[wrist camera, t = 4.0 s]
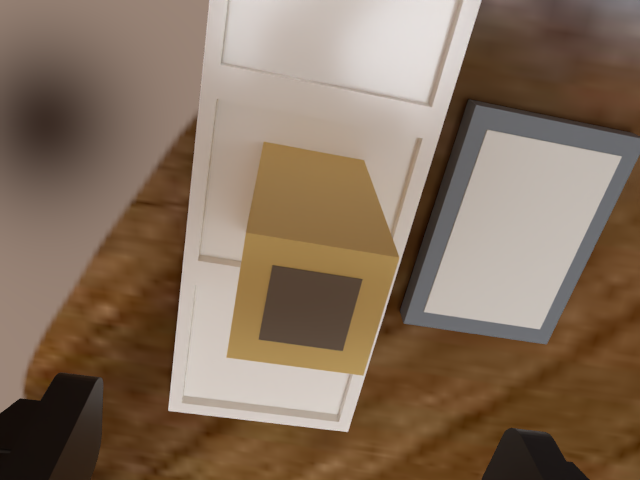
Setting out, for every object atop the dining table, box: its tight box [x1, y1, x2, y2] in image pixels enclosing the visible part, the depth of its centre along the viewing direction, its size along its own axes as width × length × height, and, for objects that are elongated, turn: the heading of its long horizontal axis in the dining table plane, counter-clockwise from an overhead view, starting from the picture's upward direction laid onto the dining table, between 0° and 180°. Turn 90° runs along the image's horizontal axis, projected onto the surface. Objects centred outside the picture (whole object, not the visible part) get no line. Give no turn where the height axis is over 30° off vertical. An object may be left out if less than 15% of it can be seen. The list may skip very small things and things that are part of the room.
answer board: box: [400, 99, 640, 344], centre depth 22 cm, size 10×7×1 cm
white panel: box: [168, 271, 388, 432], centre depth 25 cm, size 8×9×1 cm
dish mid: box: [182, 79, 442, 302], centre depth 21 cm, size 8×9×1 cm
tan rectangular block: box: [226, 142, 400, 376], centre depth 18 cm, size 4×4×8 cm
